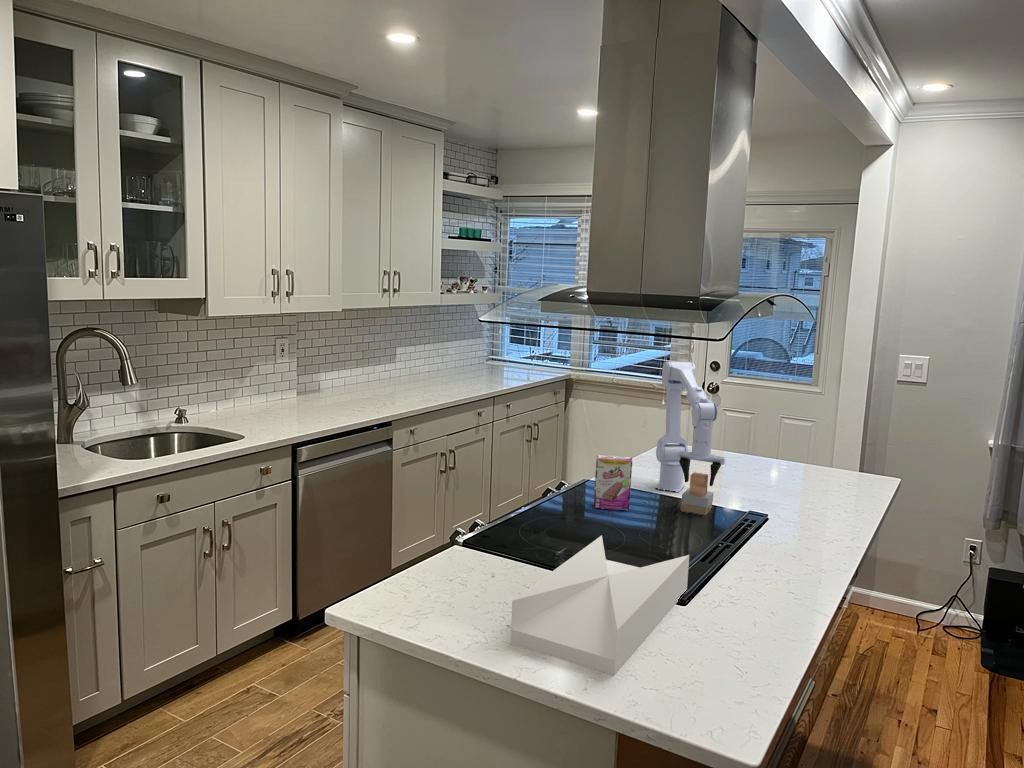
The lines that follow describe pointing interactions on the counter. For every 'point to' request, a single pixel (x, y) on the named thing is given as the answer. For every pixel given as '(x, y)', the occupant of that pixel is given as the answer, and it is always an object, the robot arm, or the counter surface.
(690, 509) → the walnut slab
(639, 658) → the counter surface
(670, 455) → the robot arm
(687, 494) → the slate slab
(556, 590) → the white zigzag wedge
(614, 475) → the candy bar box
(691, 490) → the terracotta block
